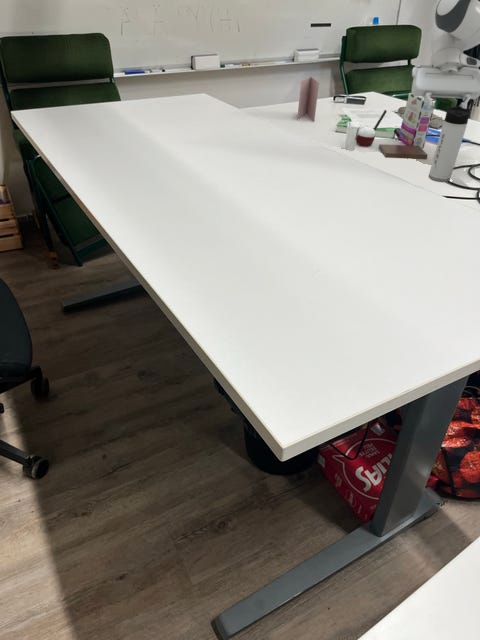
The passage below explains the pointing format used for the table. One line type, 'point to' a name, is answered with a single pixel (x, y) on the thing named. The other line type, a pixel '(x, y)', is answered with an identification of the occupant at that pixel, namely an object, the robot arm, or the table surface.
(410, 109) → the candy bar box
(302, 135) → the table surface
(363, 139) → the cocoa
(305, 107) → the greeting card
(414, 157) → the walnut board
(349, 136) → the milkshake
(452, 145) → the travel mug
